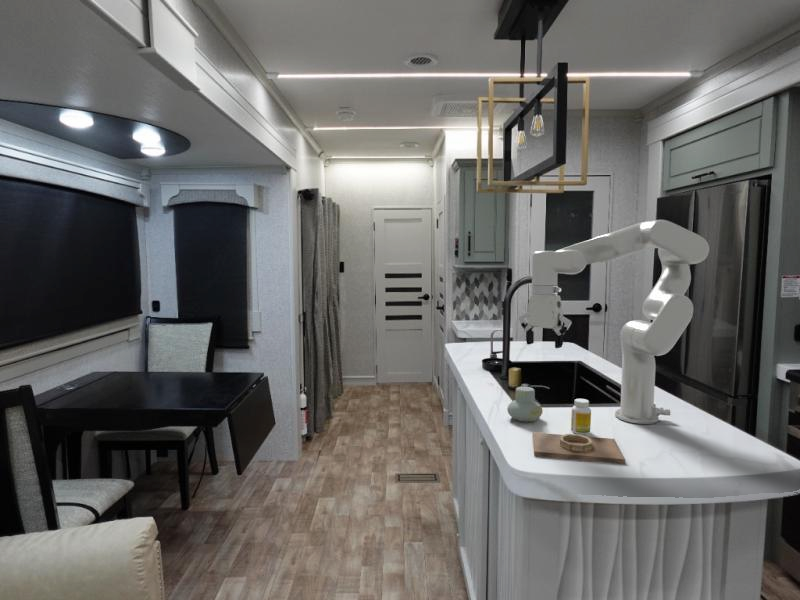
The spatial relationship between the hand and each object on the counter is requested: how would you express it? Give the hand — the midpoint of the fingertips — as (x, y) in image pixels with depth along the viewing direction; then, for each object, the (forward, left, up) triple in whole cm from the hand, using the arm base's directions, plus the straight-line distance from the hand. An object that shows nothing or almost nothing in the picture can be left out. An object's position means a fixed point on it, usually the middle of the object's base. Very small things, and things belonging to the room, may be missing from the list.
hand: (544, 345), depth 151 cm
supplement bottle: (-11, +7, -25) cm, 28 cm away
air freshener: (+5, -1, -25) cm, 25 cm away
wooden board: (-8, +21, -24) cm, 33 cm away
